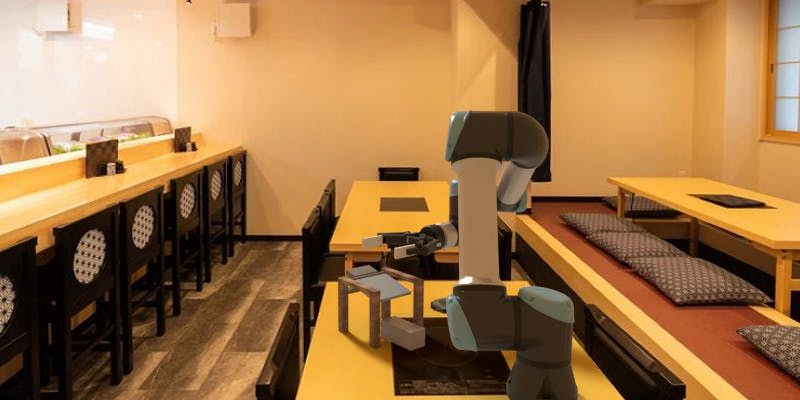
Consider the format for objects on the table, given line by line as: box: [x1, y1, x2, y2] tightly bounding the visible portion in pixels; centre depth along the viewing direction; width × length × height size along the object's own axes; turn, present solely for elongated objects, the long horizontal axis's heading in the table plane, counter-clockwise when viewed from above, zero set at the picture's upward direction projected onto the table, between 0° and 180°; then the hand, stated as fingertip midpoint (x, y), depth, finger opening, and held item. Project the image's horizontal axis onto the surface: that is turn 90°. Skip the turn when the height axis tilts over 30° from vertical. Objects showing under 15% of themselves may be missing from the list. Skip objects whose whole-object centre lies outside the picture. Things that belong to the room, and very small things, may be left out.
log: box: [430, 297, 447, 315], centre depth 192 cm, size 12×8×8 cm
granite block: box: [380, 315, 426, 352], centre depth 165 cm, size 5×5×12 cm
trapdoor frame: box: [337, 266, 425, 349], centre depth 171 cm, size 16×17×15 cm
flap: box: [345, 264, 412, 303], centre depth 172 cm, size 17×12×2 cm
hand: (378, 248), depth 164 cm, fingers open, 13 cm apart
